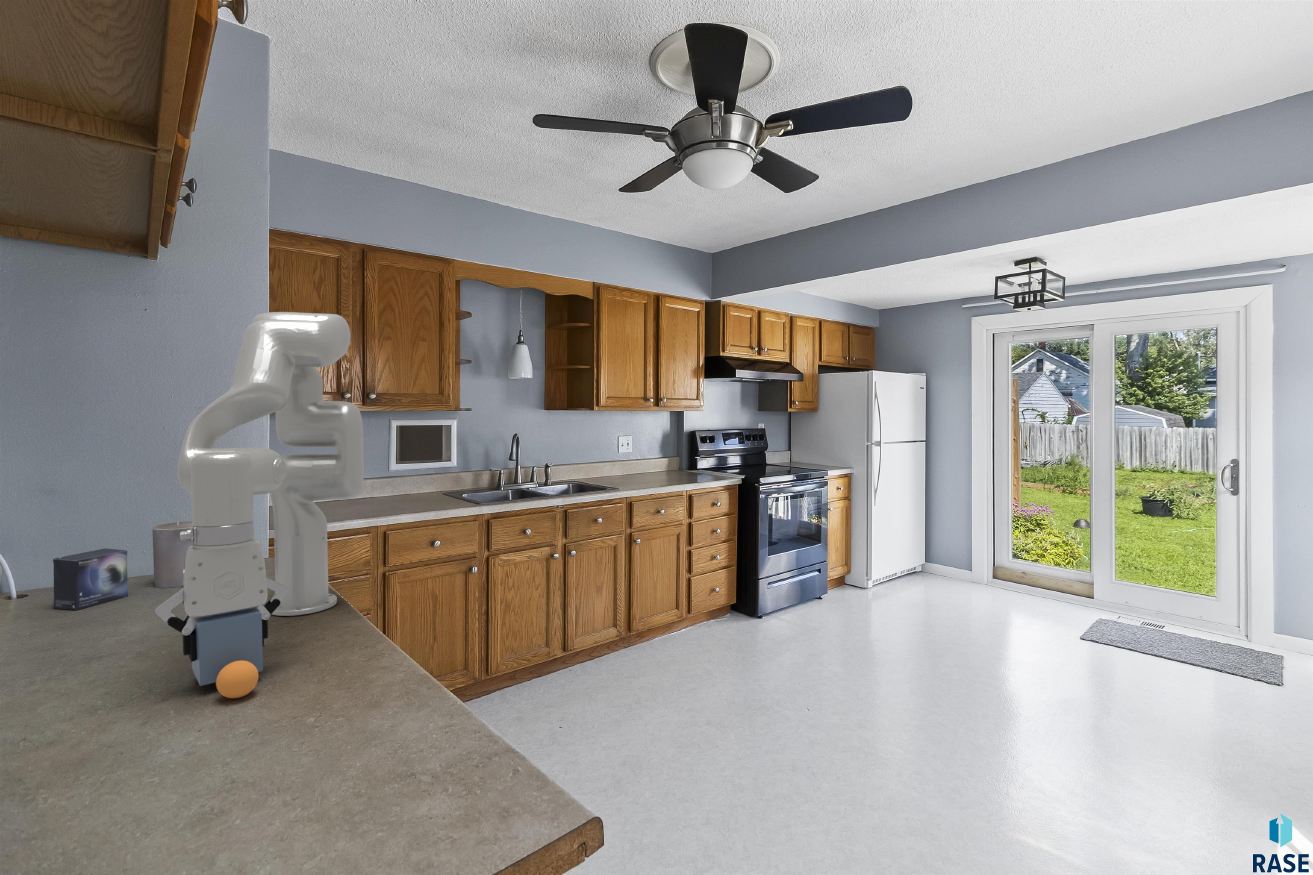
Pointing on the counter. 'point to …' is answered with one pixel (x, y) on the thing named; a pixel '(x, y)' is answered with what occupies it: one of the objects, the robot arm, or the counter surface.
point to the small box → (90, 578)
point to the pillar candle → (169, 554)
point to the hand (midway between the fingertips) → (227, 650)
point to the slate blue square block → (227, 643)
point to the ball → (237, 679)
